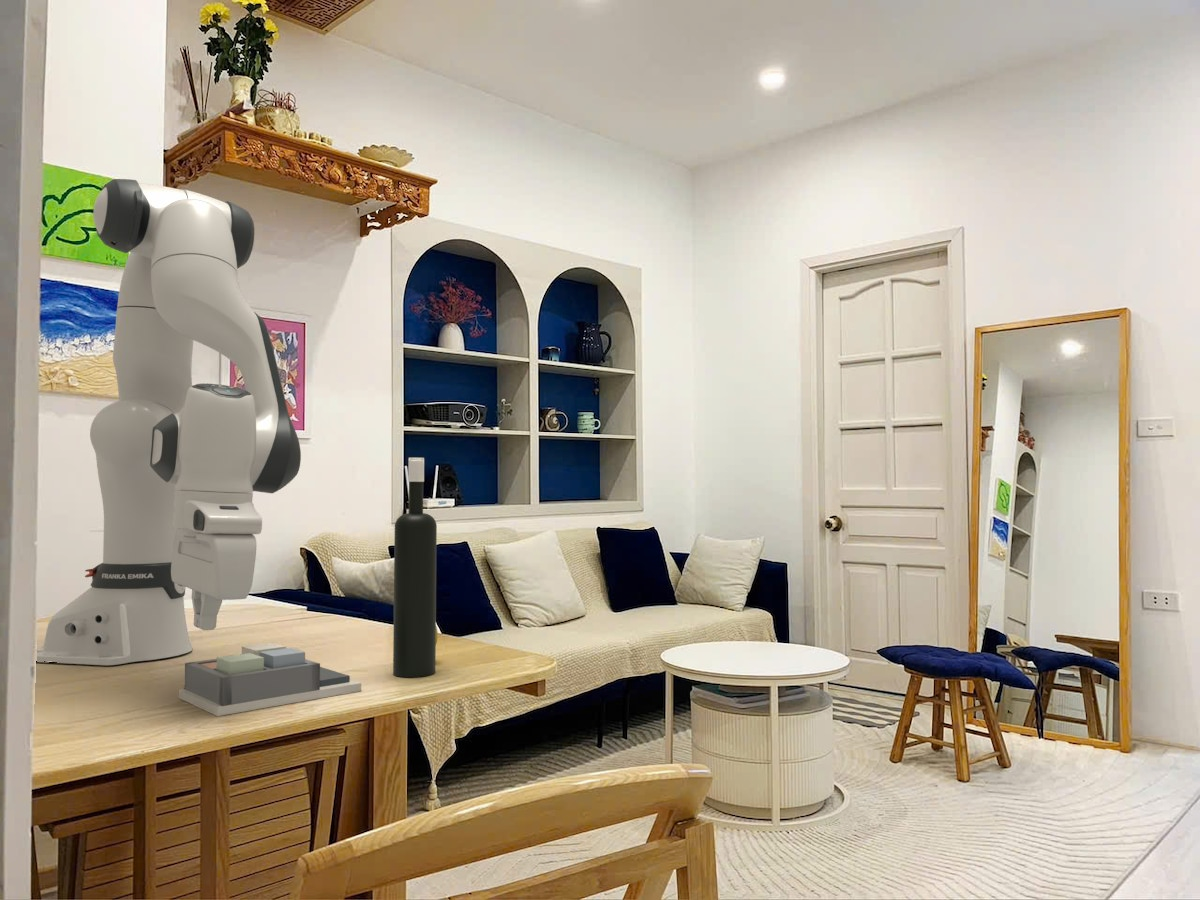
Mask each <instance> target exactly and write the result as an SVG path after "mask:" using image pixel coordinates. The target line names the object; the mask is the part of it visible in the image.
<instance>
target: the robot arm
mask: <svg viewBox="0 0 1200 900" xmlns="http://www.w3.org/2000/svg"><path fill="white" fill-rule="evenodd" d="M92 213H93V222H94V226H95V229H96V234H97V237H98V238H99V239H100V240H101V242H102V243H103V244H104V245H105V246H107V247H108V248H110V249H114V250H116V251H119V252H121V253H124V254H128V253H129V254H128V257H127V260H126V263H125V266H124V269H123V271H122V277H121V282H120V285H119V292H118V298H117V304H116V305H117V307H116V315H115V329H114V339H113V340H114V341H113V352H112V362H113V366H114V369H115V375H116V380H117V393H118V401H115V402H113V403H112V402H111V404H108V405H106V406H104V407H103V408H102V409H101V410H100V411H98V413H97V414H96V415H95V417H94V418H93V420H92V423H91V426H90V429H89V431H90V432H89V437H90V444H91V446H92V448H93V449H94V453H95V459H96V469H97V475H98V481H99V482H98V483H99V487H100V493H101V499H102V507H103V509H102V510H103V545H102V546H103V549H102V550H103V551H102V553H103V554H102V555H103V556H102V562H101V563H99V564H98V565H96V566H95V567H93V568H89V569H86V570H84V571H85V572H87V574H85V575H84V577H85V578H92V580H91V583H90V588H88V589H87V590H86V591H84V592H83V593H82V594H80V595H79V596H77V598H75V599H74V600H72V601H71V602H70V603H68V604H67V605H65V606H64V607H63V608H62V609H60V610H58V611H57V612H56V613H55V614H54V615H52V617H51V618H50V620H49V621H48V624H47V628H46V631H45V637H44V643H43V646H41V647H38V648H36V649H37V662H36V663H45V662H44V661H52V662H57V663H56V664H69V665H70V664H71V665H73V664H75V665H89V666H90V665H93V666H117V665H122V664H128V663H135V662H145V661H153V660H160V659H161V660H162V659H166V658H172V657H177V656H181V655H184V654H187V653H190V652H191V651H193V646H192V643H191V642H192V641H191V639H190V634H189V631H188V626H187V625H188V624H187V620H186V611H185V600H184V599H185V595H186V588H188V589H190V590H191V600H192V608H193V613H194V615H193V626H194V627H195V628H197V629H199V630H201V631H214V630H215V629H216V628H217V621H218V619H217V618H218V614H219V612H220V610H221V609H220V608H221V606H222V603H223V601H229V600H230V601H231V600H233V601H234V600H235V601H236V600H245V599H247V598H248V596H249V594H250V592H251V589H252V585H253V581H254V580H253V579H254V573H255V565H256V558H257V537H256V536H255V535H260V534H261V533H262V529H263V518H262V516H261V514H260V513H259V512H258V511H257V510H256V508H255V506H254V503H253V497H254V496H253V495H254V492H259V493H264V494H275V493H277V492H278V491H279V490H281V489H283V488H284V487H286V486H287V485H288V484H290V483H291V482H292V481H293V480H294V479H295V478H296V477H297V475H298V473H299V471H300V468H301V459H302V455H301V445H300V440H299V437H298V434H297V432H296V429H295V427H294V424H293V422H292V420H291V416H290V413H289V410H288V406H287V402H286V397H285V393H284V389H283V386H282V380H281V376H280V372H279V369H278V367H279V366H278V364H277V360H276V354H275V352H274V348H273V347H274V346H273V344H272V340H271V337H270V333H269V331H268V328H267V325H266V323H265V321H264V319H263V317H261V316H260V315H259V314H258V313H256V311H253V309H252V308H251V306H250V305H249V303H248V302H247V300H246V299H245V297H244V295H243V293H242V290H241V287H240V285H239V284H240V283H239V277H238V269H240V268H241V267H243V266H244V265H246V263H247V262H248V261H249V260H250V257H251V254H252V252H253V249H254V246H255V240H256V235H255V223H254V220H253V217H252V216H251V214H250V212H249V211H248V210H247V209H245V208H243V207H241V206H240V205H237V204H235V203H233V202H230V201H229V200H226V201H222V200H219V199H217V198H214V197H211V196H209V195H205V194H202V193H198V192H196V191H192V190H188V189H184V188H182V189H178V188H175V187H170V186H164V185H158V184H151V183H143V182H138V181H137V180H136V179H128V178H115V179H114V178H113V179H111V180H110V181H108V182H107V183H105V184H104V185H103V187H102V189H101V191H100V192H99V194H98V195H97V197H96V199H95V202H94V205H93V212H92ZM194 341H195V342H197V343H199V344H202V345H204V346H205V347H207V348H210V349H212V350H214V351H215V352H218V353H219V354H221V355H222V356H224V357H225V358H227V359H228V360H230V361H231V362H232V363H233V364H234V365H235V366H236V367H237V369H238V370H239V371H240V373H241V376H242V380H243V384H244V388H241V387H238V386H237V387H236V386H230V385H225V384H219V383H218V384H217V383H196V384H193V380H192V379H193V378H192V365H193V351H194Z"/></svg>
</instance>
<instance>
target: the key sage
mask: <svg viewBox="0 0 1200 900" xmlns="http://www.w3.org/2000/svg"><path fill="white" fill-rule="evenodd" d="M216 659H217V666H216V671H219V672H221V673H224V674H227V675H233V674H240V673H247V672H254V671H261V670H264V657H261V656H257V655H254V654H251V653H246V654H242V653H241V654H239V653H238V654H233V655H225V656H218V657H216Z"/></svg>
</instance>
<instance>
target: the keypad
mask: <svg viewBox="0 0 1200 900" xmlns="http://www.w3.org/2000/svg"><path fill="white" fill-rule="evenodd" d="M212 662H217V658H213V659H206V660H198V661H197V660H196V661H190V662H185V663H184V688H183V689H179V690H178V692H179V693H178V699H180V700H182V701H184V702H187V703H188V704H191V705H192V706H195V707H197V708H199V709H201V710H203V711H205V712H208V713H210V714H212V715H214V716H216V717H220V716H225V715H226V716H228V715H231V714H232V715H234V714H238V713H244V712H249V711H254V710H260V709H266V708H267V709H268V708H272V707H279V706H283V705H287V704H288V705H289V704H294V703H295V704H296V703H300V702H306V701H313V700H317V699H323V698H328V697H335V696H341V695H346V694H352V693H353V694H354V693H359V692H362V682H359V681H356V680H353V679H350V675H349V674H345V673H342V672H338V671H336V670H333V669H329V668H325V667H322V666H321V663H319V662H316V661H313V660H309V659H307V658H305V664H302V665H295V666H288V667H281V668H275V669H271V668H268V667H265V666H264V670H261V671H254V672H247V673H240V674H233V675H227V674H224V673H221V672H219V671H216V668H212V669H211V668H208V667H206V666H203V665H200V664H205V663H212Z"/></svg>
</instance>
